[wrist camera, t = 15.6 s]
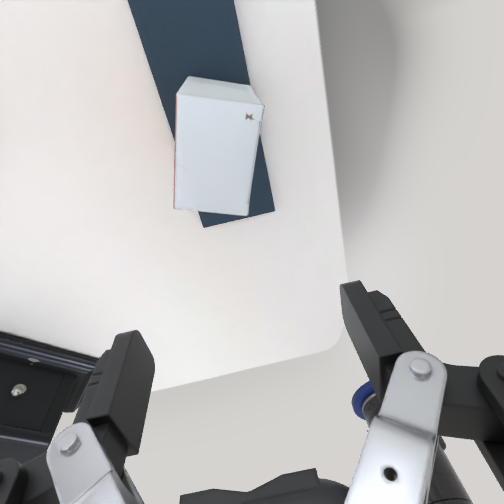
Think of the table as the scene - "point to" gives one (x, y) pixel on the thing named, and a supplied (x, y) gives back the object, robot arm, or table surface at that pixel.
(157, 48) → the side mat
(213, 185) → the small box
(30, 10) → the table surface
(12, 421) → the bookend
